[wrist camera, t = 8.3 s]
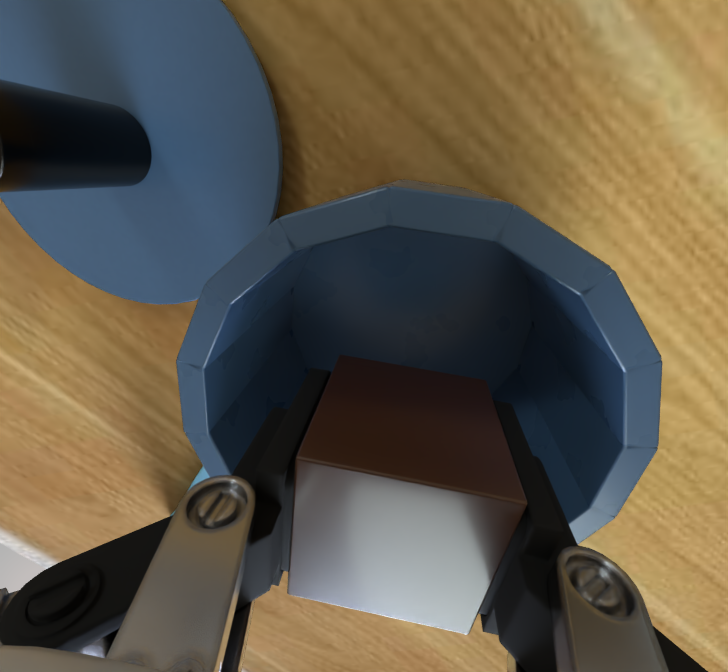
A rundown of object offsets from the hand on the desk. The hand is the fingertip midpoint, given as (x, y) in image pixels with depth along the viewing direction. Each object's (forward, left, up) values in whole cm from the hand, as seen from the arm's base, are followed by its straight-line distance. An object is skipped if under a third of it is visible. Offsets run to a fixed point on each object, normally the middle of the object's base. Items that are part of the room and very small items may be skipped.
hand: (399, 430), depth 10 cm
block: (0, 0, 0) cm, 0 cm away
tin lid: (-6, -13, -7) cm, 16 cm away
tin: (0, 0, -8) cm, 8 cm away
